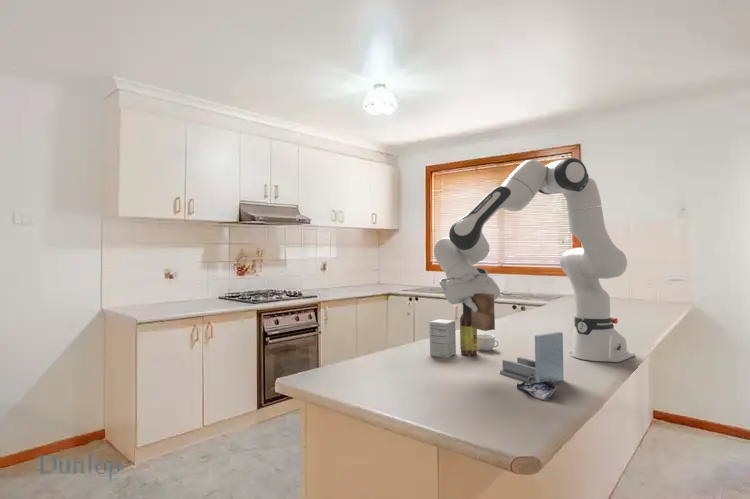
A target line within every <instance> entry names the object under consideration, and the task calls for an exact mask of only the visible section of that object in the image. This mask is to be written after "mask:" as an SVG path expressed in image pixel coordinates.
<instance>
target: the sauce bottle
mask: <svg viewBox="0 0 750 499" xmlns="http://www.w3.org/2000/svg"><path fill="white" fill-rule="evenodd" d="M461 304H462V314H461V315H460V318H459V342H460V343H459V344H460V346H459V348H460V349H459V350H460V354H462V355H464V356H475V355H477V354H478V349H477V334H478V329H474V328H472V312H471V308H470V307H468V306H467V305H466V304H465V303H461Z"/></svg>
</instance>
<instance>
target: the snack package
mask: <svg viewBox="0 0 750 499" xmlns="http://www.w3.org/2000/svg"><path fill="white" fill-rule="evenodd" d="M532 377H533V374H531V375H530V376H529V377H528V379H527V380H526V381H522V382H521V383H518V382H516V388H517V389H520V390H522V391H525V392H528V393H529V394H530V395H531V396H532V397H534V398H536V399H538V397H536V396H537V393H539V394H541V396H542V397H541V398H540V400H542V401H544V402H545V401H548V400H549V399H550V397H551V396H552V395H553V393H554V392H555V390H556V389H557V387H558V386H559V385H560V381H559V382H556V383H553V382H538V383H533V384H532V383H530V381H531V380H532V379H531V378H532Z"/></svg>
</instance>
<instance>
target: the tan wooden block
mask: <svg viewBox="0 0 750 499" xmlns="http://www.w3.org/2000/svg"><path fill="white" fill-rule="evenodd" d="M471 299H472V302H473V303H475V304H476V305H478V306H479V307H480V310H479V312H474V311H473V310H472V308H471V312H472V328H474V329H477V331H478V330H479V331H484V332H487V331H492V330H493V331H495V330H496V328H495V327H496V324H495V300H494V294H489V293H477V294H474V297H471Z"/></svg>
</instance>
